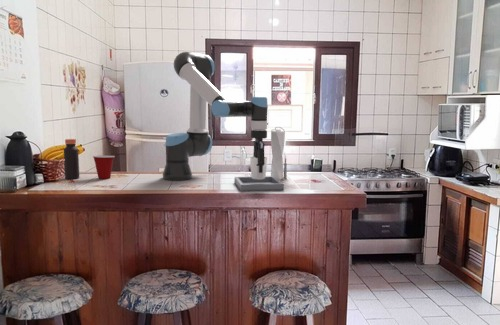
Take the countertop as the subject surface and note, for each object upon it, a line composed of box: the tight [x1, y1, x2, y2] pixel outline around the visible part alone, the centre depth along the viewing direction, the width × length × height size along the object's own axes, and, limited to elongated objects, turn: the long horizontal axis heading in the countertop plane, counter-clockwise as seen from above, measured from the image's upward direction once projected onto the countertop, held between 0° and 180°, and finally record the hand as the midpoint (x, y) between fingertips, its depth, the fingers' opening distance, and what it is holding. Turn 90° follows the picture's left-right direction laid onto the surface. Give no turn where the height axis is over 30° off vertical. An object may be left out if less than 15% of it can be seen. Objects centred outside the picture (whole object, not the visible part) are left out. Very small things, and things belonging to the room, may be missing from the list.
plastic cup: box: [92, 154, 116, 180], centre depth 211 cm, size 11×11×12 cm
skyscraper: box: [270, 126, 288, 182], centre depth 215 cm, size 8×8×28 cm
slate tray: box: [234, 175, 285, 192], centre depth 196 cm, size 20×20×3 cm
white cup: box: [249, 156, 268, 179], centre depth 195 cm, size 8×8×10 cm
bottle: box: [63, 138, 80, 180], centre depth 209 cm, size 7×7×20 cm
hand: (258, 177), depth 196 cm, fingers closed on white cup, 7 cm apart
